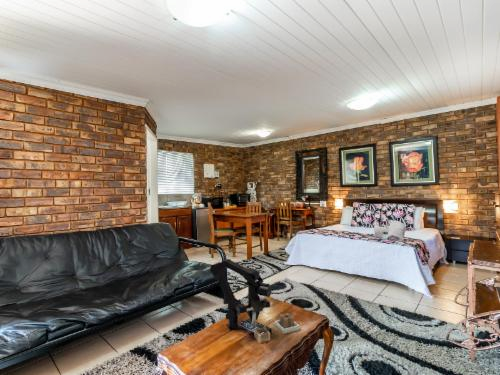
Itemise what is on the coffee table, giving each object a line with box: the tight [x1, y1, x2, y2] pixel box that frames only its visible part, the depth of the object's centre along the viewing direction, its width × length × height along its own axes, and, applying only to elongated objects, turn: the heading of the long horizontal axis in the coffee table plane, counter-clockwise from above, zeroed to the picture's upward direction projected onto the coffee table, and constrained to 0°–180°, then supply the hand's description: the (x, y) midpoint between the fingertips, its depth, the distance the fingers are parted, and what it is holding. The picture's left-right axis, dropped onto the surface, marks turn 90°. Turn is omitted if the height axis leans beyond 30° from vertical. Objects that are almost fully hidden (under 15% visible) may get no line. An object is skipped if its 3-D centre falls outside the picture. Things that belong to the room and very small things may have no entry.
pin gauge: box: [250, 308, 257, 329], centre depth 153 cm, size 3×3×10 cm
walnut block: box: [279, 312, 295, 329], centre depth 158 cm, size 6×6×6 cm
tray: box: [274, 319, 300, 335], centre depth 158 cm, size 10×10×2 cm
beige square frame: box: [253, 326, 271, 344], centre depth 147 cm, size 6×6×4 cm
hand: (253, 320), depth 153 cm, fingers closed on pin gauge, 3 cm apart
